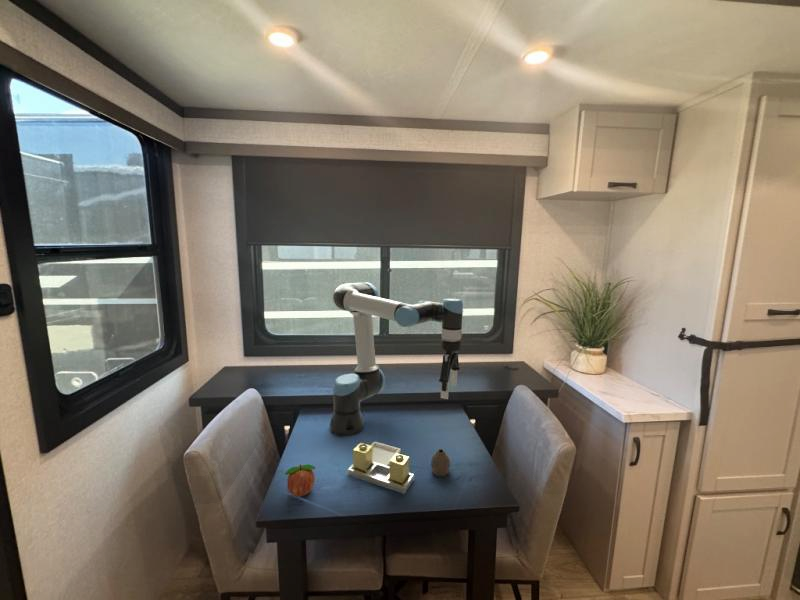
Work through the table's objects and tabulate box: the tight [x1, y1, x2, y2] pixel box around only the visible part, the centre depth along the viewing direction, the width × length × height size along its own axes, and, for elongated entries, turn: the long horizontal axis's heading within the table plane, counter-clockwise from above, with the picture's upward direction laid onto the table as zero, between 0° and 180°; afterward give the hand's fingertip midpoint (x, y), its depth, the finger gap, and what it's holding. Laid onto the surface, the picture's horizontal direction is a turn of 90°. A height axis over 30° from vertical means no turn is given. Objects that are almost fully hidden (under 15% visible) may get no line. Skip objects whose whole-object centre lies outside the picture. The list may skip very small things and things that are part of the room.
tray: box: [369, 441, 402, 467], centre depth 133 cm, size 12×12×2 cm
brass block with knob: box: [352, 442, 373, 473], centre depth 123 cm, size 5×5×10 cm
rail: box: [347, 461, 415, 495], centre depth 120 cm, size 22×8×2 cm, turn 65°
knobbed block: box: [389, 453, 410, 486], centre depth 117 cm, size 5×5×10 cm
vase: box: [430, 448, 451, 477], centre depth 123 cm, size 7×7×9 cm
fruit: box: [284, 464, 316, 498], centre depth 112 cm, size 9×10×10 cm
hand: (448, 391), depth 135 cm, fingers open, 13 cm apart
